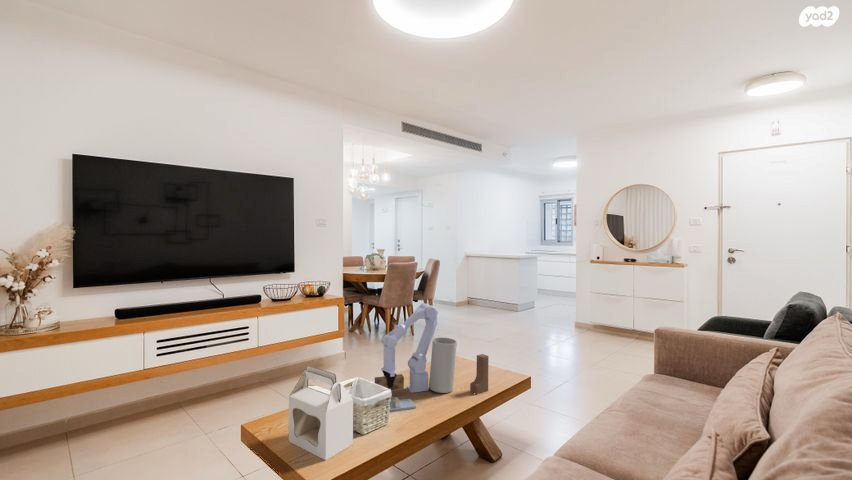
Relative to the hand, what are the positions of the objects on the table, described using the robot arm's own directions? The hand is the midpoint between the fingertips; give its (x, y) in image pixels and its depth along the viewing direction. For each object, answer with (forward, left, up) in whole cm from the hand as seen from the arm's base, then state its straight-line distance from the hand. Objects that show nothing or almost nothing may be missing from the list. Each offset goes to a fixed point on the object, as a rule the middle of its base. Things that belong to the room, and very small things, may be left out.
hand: (389, 386), depth 195 cm
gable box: (+35, +37, -4) cm, 52 cm away
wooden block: (-45, +10, -4) cm, 46 cm away
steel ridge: (0, +15, -4) cm, 16 cm away
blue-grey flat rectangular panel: (0, +15, -4) cm, 16 cm away
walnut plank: (0, 0, -2) cm, 2 cm away
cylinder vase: (-27, +2, -4) cm, 27 cm away
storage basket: (+18, +24, -4) cm, 31 cm away
